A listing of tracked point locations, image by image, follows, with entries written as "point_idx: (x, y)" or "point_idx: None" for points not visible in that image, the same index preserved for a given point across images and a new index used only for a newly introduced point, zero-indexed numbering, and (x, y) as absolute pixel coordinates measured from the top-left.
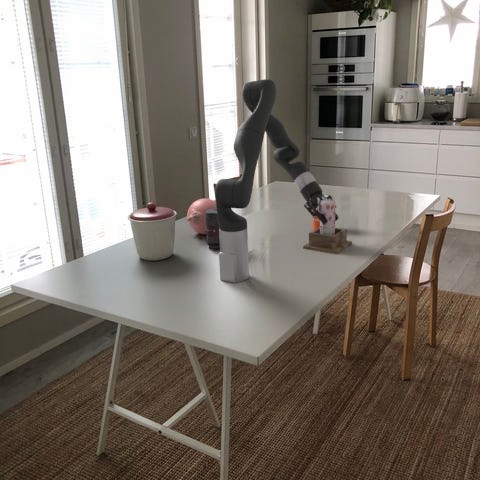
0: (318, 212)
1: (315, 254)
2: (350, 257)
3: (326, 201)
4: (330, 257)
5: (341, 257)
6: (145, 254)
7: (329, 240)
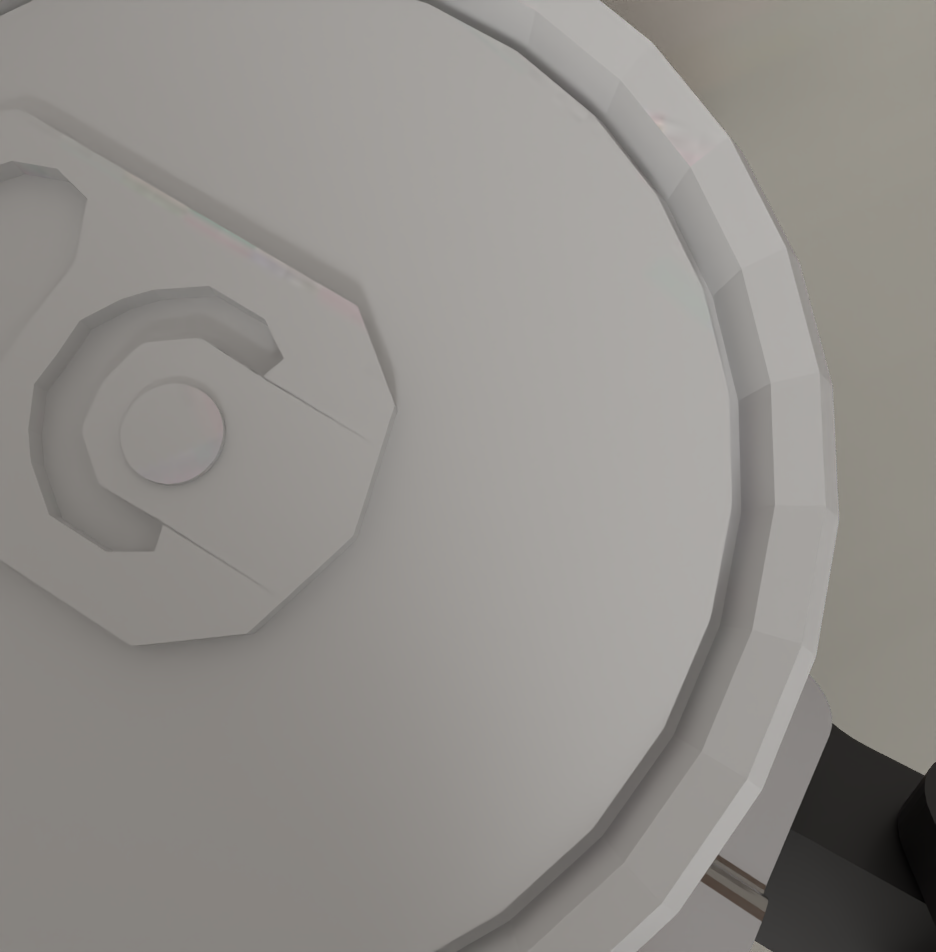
0: (811, 789)
1: (897, 573)
2: (734, 95)
3: (371, 481)
4: (887, 321)
5: (801, 193)
6: None
7: None
